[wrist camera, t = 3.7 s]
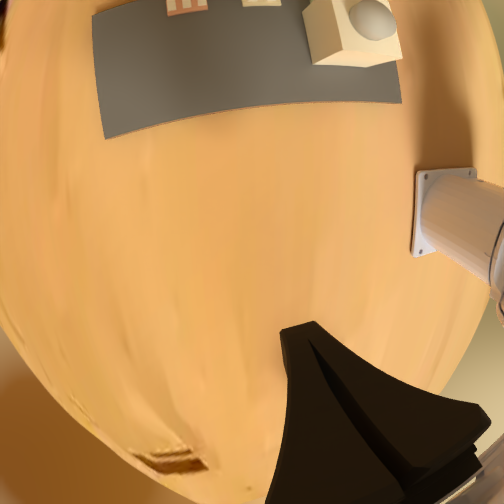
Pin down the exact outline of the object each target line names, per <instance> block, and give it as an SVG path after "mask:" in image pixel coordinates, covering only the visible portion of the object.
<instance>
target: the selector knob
mask: <svg viewBox="0 0 504 504" xmlns="http://www.w3.org/2000/svg"><path fill="white" fill-rule="evenodd" d="M302 15H303V19H304V24H305V28H306V33H307V38H308V43H309V48H310V54H311V59H312V65H340V66H355V67H370V66H373V65H377V64H381V63H385V62H389V61H394V60H398V59H403V58H402V53H401V48H400V43H399V39H398V34H397V30H396V28H397V25H396V20H395V18H394V16H393V14H392V11H391V8H390V5H389V1H386V0H314V1H313V2H312V3H311V4H310V5H309V6H308V7H307V8H306V9H304V10H303V11H302Z"/></svg>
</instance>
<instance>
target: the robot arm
mask: <svg viewBox="0 0 504 504" xmlns="http://www.w3.org/2000/svg"><path fill="white" fill-rule="evenodd" d="M424 176H425V178H424ZM435 251H440V252H441V253H443V254H444V255H446V256H447V257H449V258H450V259H452V260H453V261H455V262H456V263H458V264H459V265H461V266H462V267H464V268H465V269H467V270H468V271H470V272H471V273H472V274H474V275H475V276H477V277H478V278H479V279H481V280H482V281H484V282H485V283H486V284H488V285H489V286H490V287H491V290H490V294H489V296H490V297H491V298H493V299H494V300H495V301H496V302H497V305H496V312H497V316H498V318H499V320H500V322H501V324H502V325H503V327H504V188H503V187H500V186H498V185H495V184H492V183H490V182H487V181H484V180H481V179H478V178H477V170H476V168H473V167H468V168H449V169H434V170H421V171H418V172H417V174H416V195H415V216H414V230H413V241H412V250H411V255H412V256H413V257H415V258H417V257H420V256H423V255H426V254H429V253H432V252H435ZM280 340H281V347H282V355H283V362H284V367H285V370H286V374H287V378H288V384H287V407H286V417H285V425H284V431H283V437H282V443H281V448H280V452H279V456H278V461H277V465H276V469H275V472H274V476H273V479H272V482H271V485H270V488H269V491H268V494H267V497H266V500H265V504H440V503H441V502H442V501H444V500H445V499H447V498H448V497H450V496H451V495H452V494H454V493H455V492H456V491H458V490H459V489H460V488H462V487H463V486H464V485H465V484H467V483H468V482H469V481H470V480H472V479H473V478H474V477H475V476H476V480H475V482H474V483H472V484H471V485H469V486H468V487H466V488H465V489H463V490H462V491H461V492H459V493H458V494H456V495H455V496H454V497H453V498H451V499H450V500H449V501H448V502H447V503H446V504H504V434H503V435H502V436H501V437H500V438H499V439H498V440H497V441H496V442H494V443H493V444H492V445H491V446H490V447H489V448H488V449H487V450H486V451H485V452H484V453H482V454H481V455H480V456H479V457H478V458H477V457H476V455H475V454H474V453H475V452H476V451H477V448H476V446H475V445H474V444H473V443H474V442H475V441H476V440H477V439H478V438H479V437H480V436H481V435H482V434H483V433H484V432H485V431H486V430H487V429H488V428H489V426H490V425H491V420H490V418H489V417H488V416H487V414H486V413H485V412H484V410H483V409H482V408H481V407H480V406H479V405H478V404H475V403H469V402H464V401H458V400H453V399H449V398H445V397H442V396H439V395H435V394H432V393H429V392H427V391H424V390H421V389H419V388H416V387H413V386H411V385H409V384H406V383H404V382H402V381H400V380H398V379H396V378H394V377H392V376H390V375H388V374H386V373H385V372H383V371H381V370H379V369H378V368H376V367H374V366H373V365H371V364H370V363H368V362H367V361H365V360H364V359H362V358H361V357H359V356H358V355H356V354H355V353H354V352H352V351H351V350H350V349H348V348H347V347H345V346H344V345H343V344H342V343H340V342H339V341H338V340H337V339H335V338H334V337H333V336H332V335H330V334H329V333H328V332H327V331H326V330H325V329H323V328H322V327H321V326H320V325H319V324H318V323H317V322H315V321H311V322H307V323H304V324H300V325H297V326H293V327H289V328H286V329H282V330H281V331H280Z"/></svg>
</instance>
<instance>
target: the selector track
mask: <svg viewBox="0 0 504 504" xmlns="http://www.w3.org/2000/svg"><path fill="white" fill-rule="evenodd" d="M313 1H314V0H137V1H134V2H130V3H127V4H124V5H121V6H117V7H114V8H112V9H109V10H106V11H103V12H100V13H98V14H95V15H93V16H92V37H93V54H94V66H95V76H96V85H97V93H98V100H99V107H100V114H101V120H102V126H103V131H104V137H105V140H106V139H113V138H116V137H119V136H122V135H125V134H129V133H132V132H136V131H139V130H143V129H146V128H150V127H154V126H158V125H162V124H166V123H170V122H175V121H179V120H184V119H188V118H193V117H198V116H203V115H209V114H214V113H220V112H226V111H233V110H240V109H247V108H255V107H264V106H274V105H286V104H300V103H322V102H365V103H387V104H402V99H401V91H400V84H399V78H398V71H397V65H396V60H394V61H389V62H385V63H381V64H377V65H373V66H370V67H355V66H340V65H312V59H311V54H310V48H309V43H308V38H307V33H306V28H305V24H304V19H303V15H302V11H303V10H304V9H306V8H307V7H308V6H309V5H310V4H311V3H312V2H313Z"/></svg>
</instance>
